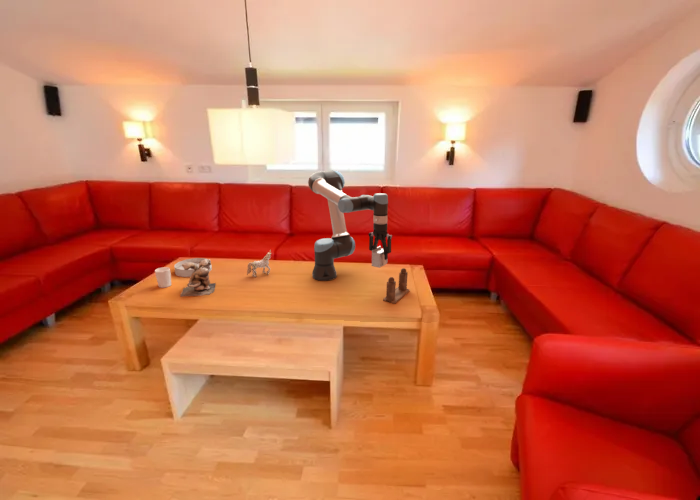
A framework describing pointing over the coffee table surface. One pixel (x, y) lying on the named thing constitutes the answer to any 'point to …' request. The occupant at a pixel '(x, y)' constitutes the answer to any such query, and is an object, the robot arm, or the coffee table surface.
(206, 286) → the cherub figurine
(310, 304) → the coffee table surface
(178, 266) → the dish
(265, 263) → the unicorn figurine
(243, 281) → the coffee table surface
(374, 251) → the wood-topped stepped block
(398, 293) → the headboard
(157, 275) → the white cup
